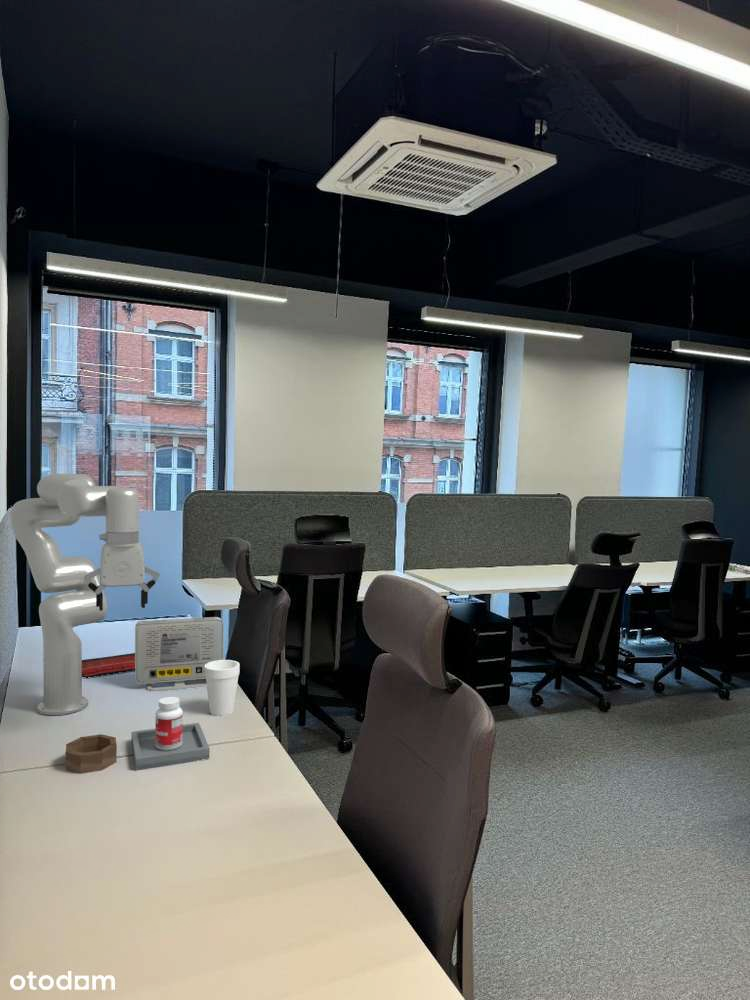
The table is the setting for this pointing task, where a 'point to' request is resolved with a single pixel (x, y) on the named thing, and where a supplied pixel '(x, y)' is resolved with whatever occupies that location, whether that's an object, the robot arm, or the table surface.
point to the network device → (176, 650)
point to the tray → (153, 757)
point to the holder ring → (91, 753)
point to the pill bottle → (169, 724)
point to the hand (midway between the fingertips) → (122, 608)
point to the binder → (108, 665)
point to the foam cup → (222, 685)
